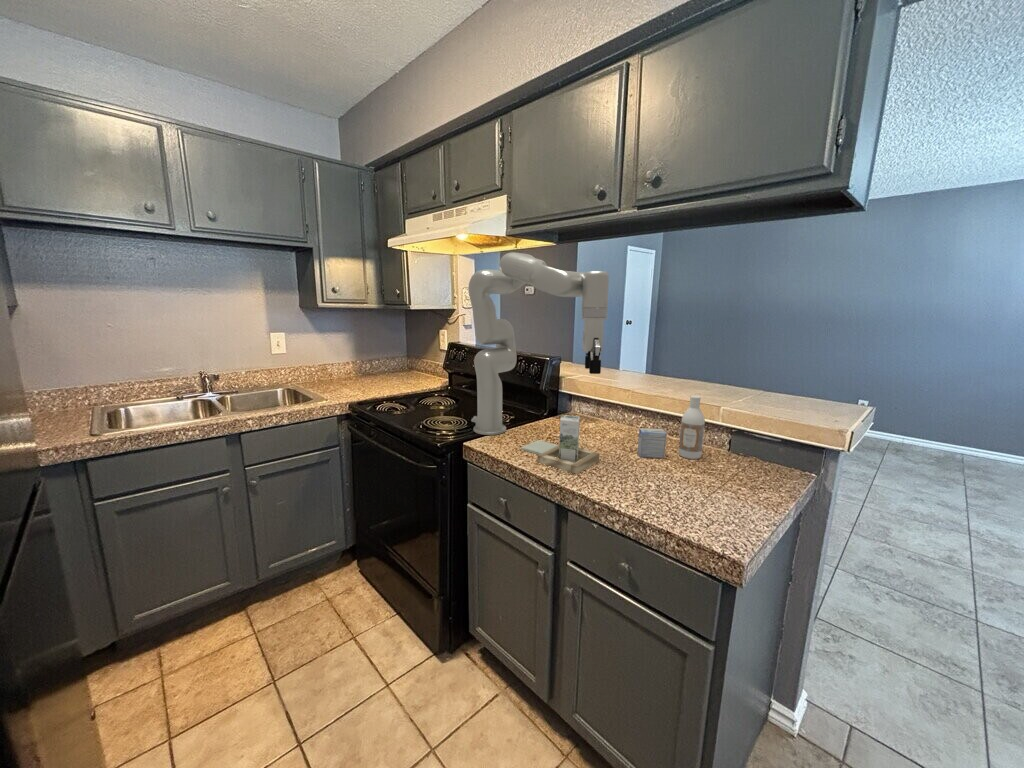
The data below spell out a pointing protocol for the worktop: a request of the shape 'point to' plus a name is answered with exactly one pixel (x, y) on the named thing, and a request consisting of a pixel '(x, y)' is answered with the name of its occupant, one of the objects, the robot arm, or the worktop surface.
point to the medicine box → (652, 443)
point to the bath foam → (692, 430)
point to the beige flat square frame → (585, 462)
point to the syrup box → (569, 438)
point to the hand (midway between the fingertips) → (592, 370)
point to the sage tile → (538, 447)
